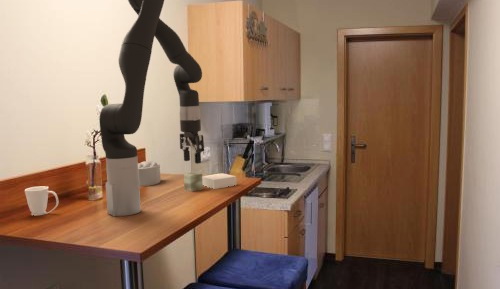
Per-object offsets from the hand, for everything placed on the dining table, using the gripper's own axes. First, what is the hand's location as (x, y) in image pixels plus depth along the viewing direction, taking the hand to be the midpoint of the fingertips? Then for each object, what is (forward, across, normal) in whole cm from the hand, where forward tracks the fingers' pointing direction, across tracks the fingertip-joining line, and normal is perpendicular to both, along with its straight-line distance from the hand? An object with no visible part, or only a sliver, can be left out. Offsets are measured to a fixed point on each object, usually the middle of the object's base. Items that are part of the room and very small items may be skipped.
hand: (192, 162), depth 167 cm
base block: (+10, 0, +11) cm, 15 cm away
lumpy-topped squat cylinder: (+11, -26, -8) cm, 29 cm away
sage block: (+10, 0, 0) cm, 11 cm away
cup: (+10, -2, -52) cm, 53 cm away
